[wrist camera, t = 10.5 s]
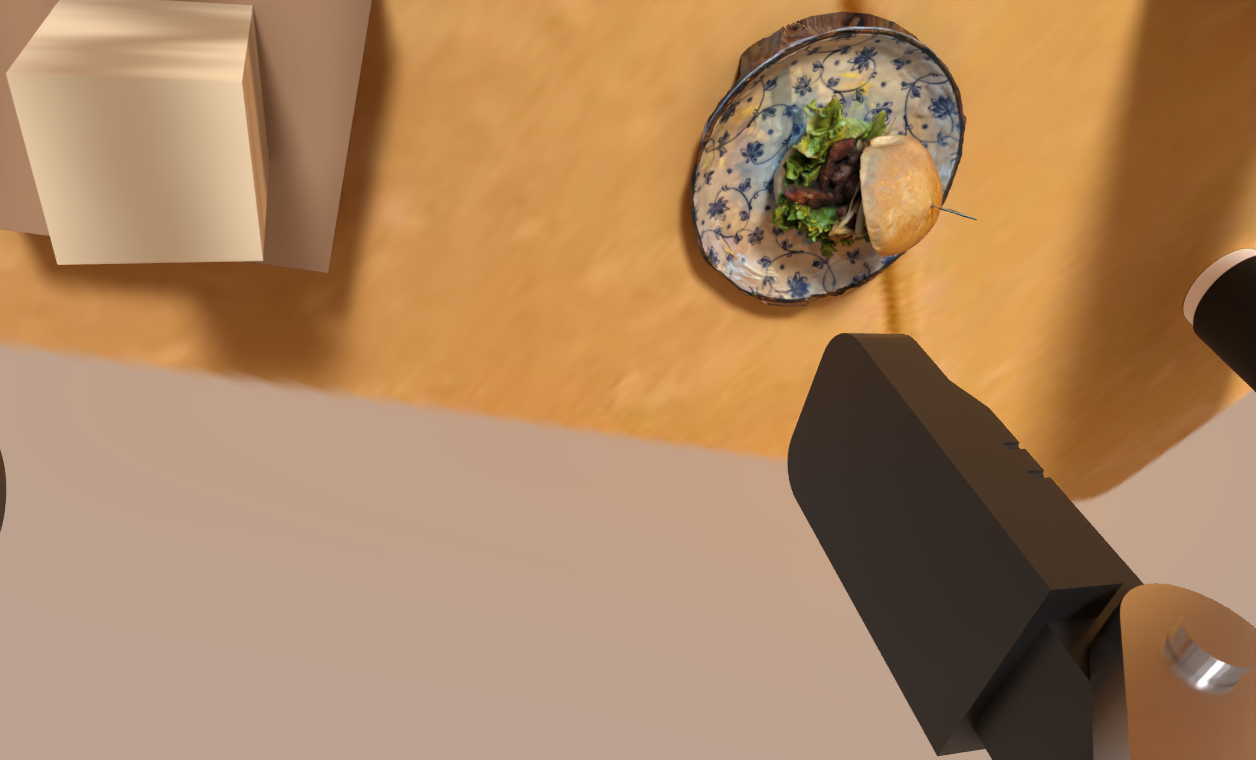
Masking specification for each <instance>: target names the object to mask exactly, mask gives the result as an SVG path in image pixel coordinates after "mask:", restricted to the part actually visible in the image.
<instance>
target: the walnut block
mask: <svg viewBox="0 0 1256 760" xmlns="http://www.w3.org/2000/svg"><path fill="white" fill-rule="evenodd" d="M58 1H59V0H0V229H1V230H9V231H16V232H24V233H31V234H39V235H46V236H50V235H49V231H48V228H47V224H46V220H45V216H44V213H43V209H42V205H41V202H40V198H39V194H38V191H37V187H36V183H35V179H34V176H33V172H32V168H31V165H30V161H29V157H28V154H27V150H26V146H25V143H24V139H23V135H22V131H21V128H20V124H19V120H18V117H17V113H16V109H15V106H14V102H13V98H12V94H11V91H10V87H9V83H8V80H7V76H6V72H7V71H8V70H9V68H10V67H11V66H12V64H13V63H14V61H15V60H16V59H17V57H18V56H19V55H20V53H21V52H22V50H23V49H24V48H25V46H26V45H27V44H28V42H29V41H30V39H31V38H32V37H33V35H34V34H35V33H36V31H37V30H38V29H39V27H40V26H41V24H42V23H43V22H44V20H45V19H46V18H47V16H48V15H49V13H50V12H51V11H52V9H53V8H54V7H55V5H56V4H57V2H58ZM170 1H186V2H203V3H220V4H237V5H253V12H254V21H255V31H256V40H257V50H258V59H259V68H260V78H261V87H262V97H263V106H264V116H265V125H266V135H267V144H268V154H269V175H268V191H267V207H266V223H265V238H264V254H263V261H241V262H249V263H256V264H264V265H271V266H279V267H286V268H294V269H301V270H309V271H316V272H324V273H328V270H329V264H330V258H331V252H332V245H333V239H334V233H335V227H336V221H337V214H338V208H339V202H340V196H341V189H342V183H343V177H344V171H345V165H346V158H347V152H348V146H349V140H350V134H351V127H352V121H353V115H354V109H355V102H356V96H357V90H358V84H359V78H360V71H361V65H362V59H363V53H364V46H365V40H366V34H367V28H368V22H369V15H370V9H371V3H372V0H170Z"/></svg>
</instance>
